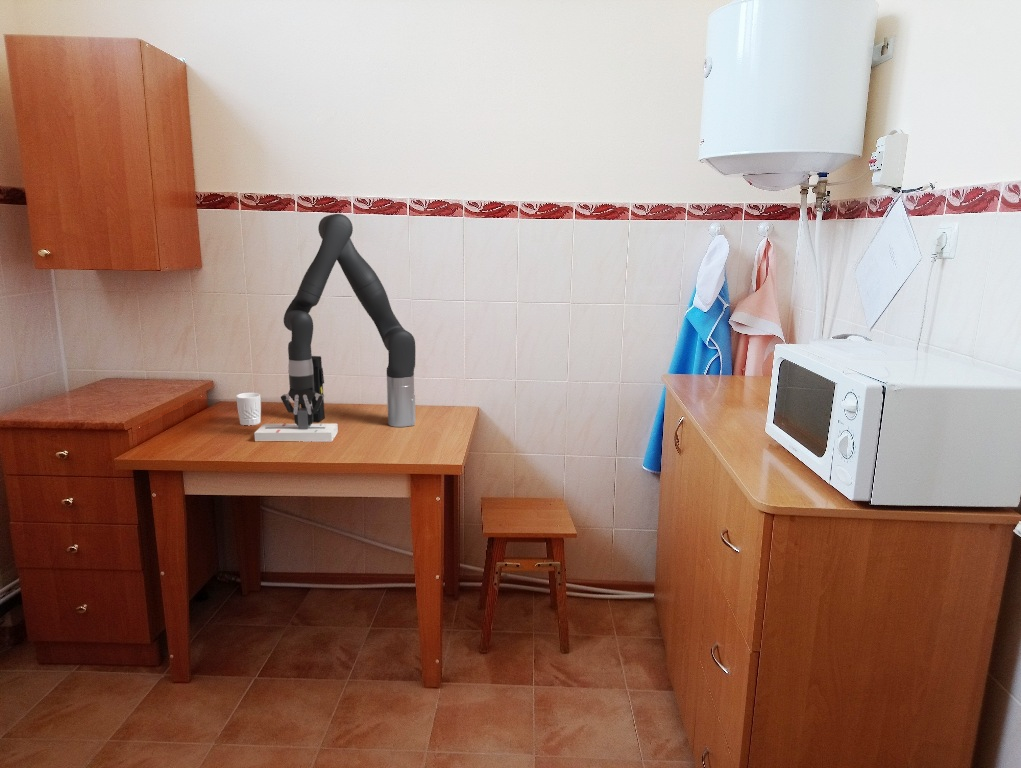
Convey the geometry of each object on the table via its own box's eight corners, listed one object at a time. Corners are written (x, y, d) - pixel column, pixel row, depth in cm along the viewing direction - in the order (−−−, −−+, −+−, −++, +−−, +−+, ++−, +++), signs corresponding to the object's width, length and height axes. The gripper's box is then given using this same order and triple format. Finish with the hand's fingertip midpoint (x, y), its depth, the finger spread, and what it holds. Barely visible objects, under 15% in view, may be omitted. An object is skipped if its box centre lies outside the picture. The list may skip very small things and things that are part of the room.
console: (337, 432, 229) (337, 423, 228) (331, 441, 219) (331, 431, 219) (264, 432, 228) (263, 423, 227) (255, 441, 218) (254, 432, 217)
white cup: (261, 425, 235) (259, 397, 233) (236, 427, 234) (234, 398, 231) (263, 419, 243) (261, 391, 240) (239, 420, 241) (237, 392, 239)
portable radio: (328, 417, 246) (325, 348, 240) (322, 422, 240) (318, 352, 234) (307, 417, 246) (303, 348, 241) (300, 421, 241) (296, 351, 235)
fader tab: (310, 425, 225) (309, 408, 223) (307, 429, 221) (306, 411, 220) (301, 425, 225) (300, 408, 223) (298, 429, 221) (297, 411, 220)
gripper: (326, 370, 223) (328, 421, 227) (281, 370, 222) (285, 421, 226) (320, 375, 216) (323, 428, 219) (275, 375, 215) (278, 428, 219)
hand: (304, 424), depth 223 cm, fingers closed on fader tab, 3 cm apart
